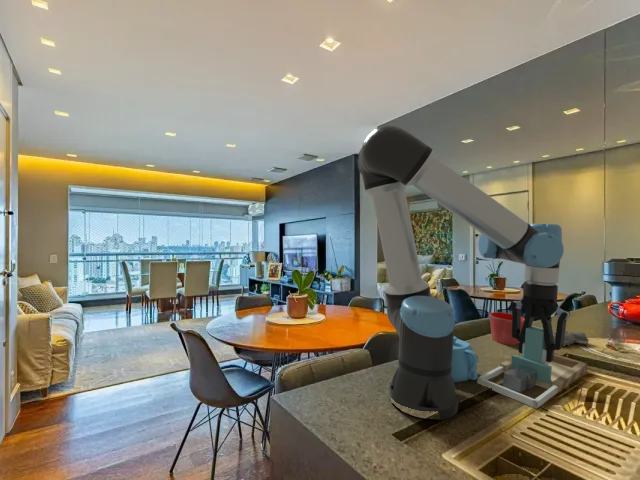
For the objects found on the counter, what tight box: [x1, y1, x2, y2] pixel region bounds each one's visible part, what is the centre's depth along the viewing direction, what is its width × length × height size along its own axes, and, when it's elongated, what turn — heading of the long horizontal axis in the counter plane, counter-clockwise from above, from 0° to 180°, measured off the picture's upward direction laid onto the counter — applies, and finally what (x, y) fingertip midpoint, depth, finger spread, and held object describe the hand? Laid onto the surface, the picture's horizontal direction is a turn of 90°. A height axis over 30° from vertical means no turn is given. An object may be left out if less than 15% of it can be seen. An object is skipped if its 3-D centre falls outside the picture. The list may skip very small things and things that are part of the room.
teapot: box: [451, 335, 479, 383], centre depth 93 cm, size 13×11×18 cm
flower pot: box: [488, 311, 525, 346], centre depth 118 cm, size 11×11×10 cm
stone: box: [553, 330, 589, 346], centre depth 122 cm, size 15×10×4 cm, turn 101°
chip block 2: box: [513, 366, 537, 390], centre depth 87 cm, size 4×4×4 cm
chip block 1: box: [502, 369, 528, 394], centre depth 85 cm, size 4×4×4 cm
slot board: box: [499, 353, 588, 394], centre depth 95 cm, size 22×14×3 cm, turn 127°
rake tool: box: [511, 325, 552, 383], centre depth 90 cm, size 5×9×12 cm, turn 37°
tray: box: [476, 365, 558, 409], centre depth 84 cm, size 12×14×2 cm
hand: (534, 369), depth 90 cm, fingers closed on rake tool, 4 cm apart
